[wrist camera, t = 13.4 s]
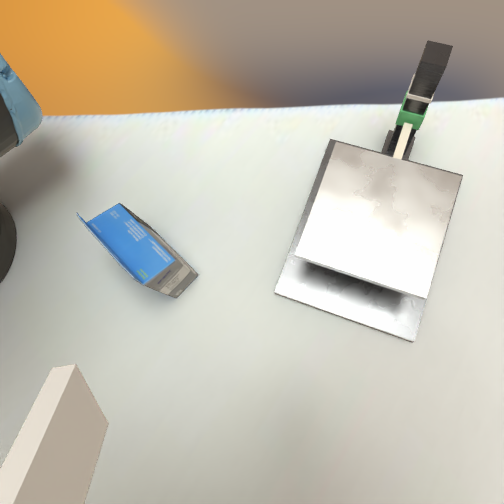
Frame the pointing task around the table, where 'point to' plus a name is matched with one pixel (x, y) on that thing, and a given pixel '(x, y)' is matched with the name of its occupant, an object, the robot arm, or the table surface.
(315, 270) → the stand
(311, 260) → the pan
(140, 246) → the label tape box
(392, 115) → the table surface
